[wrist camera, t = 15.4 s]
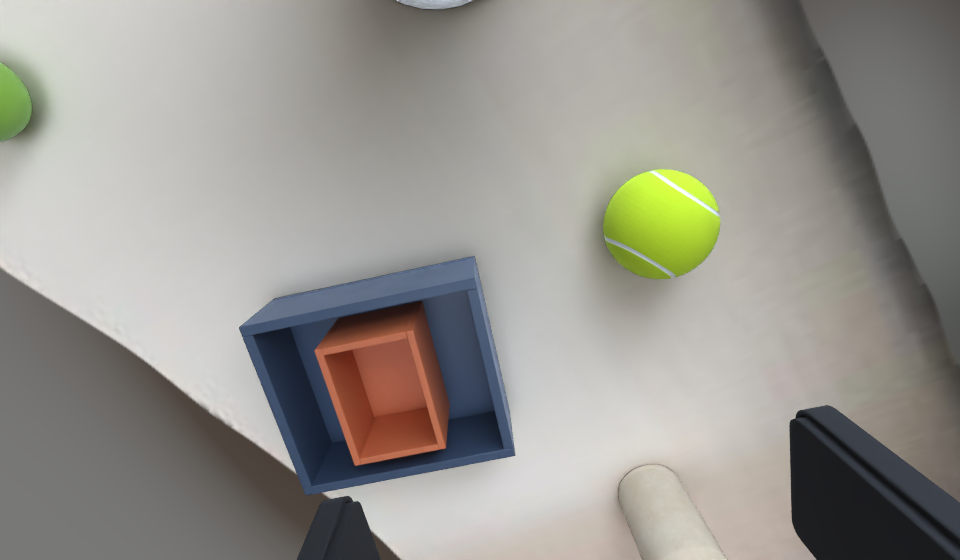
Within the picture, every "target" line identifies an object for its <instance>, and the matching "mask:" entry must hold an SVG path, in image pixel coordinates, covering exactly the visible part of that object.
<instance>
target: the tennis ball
mask: <svg viewBox="0 0 960 560" xmlns="http://www.w3.org/2000/svg"><path fill="white" fill-rule="evenodd" d="M719 230H720V216H719V208H718V205H717V203H716V201H715V199H714V197H713V195H712V194H711V192H710V191H709V190H708V189H707V188H706V186H704V185H703V184H702V183H701V182H700V181H698V180H697V179H695V178H694V177H692V176H690V175H688V174H685V173H683V172H679V171H675V170H667V169H659V170H651V171H649V172H644V173H641V174H639V175H637V176H635V177H633V178H632V179H630V180H629V181H627V182H626V183H625V184H623V185H622V186H621V187H620V188H619V189H618V190H617V192H616V193H615V194H614V196H613V197H612V199H611V200H610V202H609V204H608V206H607V209H606V212H605V216H604V222H603V233H604V239H605V242H606V245H607V247H608V249H609V251H610V252H611V254H612V256H613V257H614V258H615V259H616V261H617V262H618V263H619V264H620V265H622V266H623V267H624V268H626V269H627V270H629V271H630V272H632V273H634V274H636V275H639V276H642V277H646V278H650V279H670V278H671V277H678V276H681V275H683V274H685V273H688V272H689V271H691V270H693V269H694V268H696V267H697V266H698V265H699V264H701V263H702V262H703V261H704V260H705V259H706V257H707V256H708V255H709V254H710V252H711V251H712V249H713V247H714V245H715V243H716V241H717V238H718V235H719Z"/></svg>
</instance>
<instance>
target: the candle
mask: <svg viewBox="0 0 960 560" xmlns="http://www.w3.org/2000/svg"><path fill="white" fill-rule="evenodd" d="M618 497H619V502H620V504H621V507H622V510H623V512H624V515H625V518H626V520H627V523H628V525H629V528H630V530H631V533H632V535H633V538H634V540H635V543H636V545H637V548H638V550H639V553H640V555H641V558H642V560H728V559H727V557H726V556H725V554H724V552H723V551H722V549H721V547H720V546H719V544H718V542H717V541H716V539H715V537H714V536H713V534H712V532H711V531H710V529H709V527H708V526H707V524H706V522H705V521H704V519H703V517H702V516H701V514H700V512H699V511H698V509H697V507H696V506H695V504H694V502H693V501H692V499H691V497H690V496H689V494H688V492H687V491H686V489H685V487H684V485H683V484H682V482H681V481H680V479H679V478H678V476H677V475H676V474H675V473H674V472H673V471H672V470H670V469H669V468H667V467H664V466H661V465H654V464H651V465H644V466H640V467H638V468H635V469H634V470H632V471H631V472H629V473H628V474H627V475H626V476H625V477H624V478H623V480H622V481H621V483H620V485H619V489H618Z"/></svg>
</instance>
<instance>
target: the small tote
mask: <svg viewBox="0 0 960 560" xmlns="http://www.w3.org/2000/svg"><path fill="white" fill-rule="evenodd" d="M315 354H316V357H317V360H318V362H319V365H320V368H321V371H322V374H323V377H324V379H325V382H326V385H327V388H328V391H329V394H330V397H331V399H332V402H333V405H334V408H335V411H336V414H337V416H338V419H339V422H340V425H341V428H342V431H343V433H344V436H345V439H346V442H347V445H348V448H349V451H350V453H351V456H352V459H353V462H354V465H355V466H357V465H361V464H367V463H373V462H378V461H383V460H388V459H393V458H399V457H404V456H409V455H414V454H419V453H425V452H430V451H435V450H439V449H445V448H446V442H447V431H448V420H449V408H450V403H449V400H448V396H447V392H446V388H445V385H444V381H443V377H442V373H441V370H440V366H439V362H438V358H437V355H436V351H435V347H434V344H433V340H432V336H431V332H430V329H429V325H428V321H427V317H426V314H425V310H424V306H423V302H422V301H420V302H415V303H410V304H405V305H401V306H396V307H391V308H386V309H382V310H377V311H372V312H367V313H362V314H358V315H353V316H348V317H343V318H338V319H337V321H336V322H335V323H334V325H333V326H332V327H331V329H330V330H329V332H328V333H327V334H326V336H325V337H324V338H323V340H322V341H321V342H320V344H319V345H318V346H317V348H316V349H315Z"/></svg>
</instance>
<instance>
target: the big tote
mask: <svg viewBox="0 0 960 560" xmlns="http://www.w3.org/2000/svg"><path fill="white" fill-rule="evenodd" d="M420 301H422V302H423V306H424V310H425V314H426V317H427V321H428V325H429V329H430V332H431V336H432V340H433V344H434V347H435V351H436V355H437V358H438V362H439V366H440V370H441V373H442V377H443V381H444V385H445V388H446V392H447V396H448V400H449V403H450V408H449V420H448V431H447V442H446V448H445V449H439V450H435V451H430V452H425V453H419V454H414V455H409V456H404V457H399V458H393V459H388V460H383V461H378V462H373V463H367V464H361V465H357V466H355V465H354V462H353V459H352V456H351V453H350V451H349V448H348V445H347V442H346V439H345V436H344V433H343V431H342V428H341V425H340V422H339V419H338V416H337V414H336V411H335V408H334V405H333V402H332V399H331V397H330V394H329V391H328V388H327V385H326V382H325V379H324V377H323V374H322V371H321V368H320V365H319V362H318V360H317V357H316V354H315V349H316V348H317V346H318V345H319V344H320V342H321V341H322V340H323V338H324V337H325V336H326V334H327V333H328V332H329V330H330V329H331V327H332V326H333V325H334V323H335V322H336V321H337V319H338V318H343V317H348V316H353V315H358V314H362V313H367V312H372V311H377V310H382V309H386V308H391V307H396V306H401V305H405V304H410V303H415V302H420ZM239 329H240V332H241V334H242V337H243V339H244V342H245V344H246V347H247V349H248V352H249V354H250V357H251V359H252V362H253V364H254V367H255V370H256V372H257V375H258V377H259V380H260V382H261V385H262V387H263V390H264V392H265V395H266V397H267V400H268V402H269V405H270V407H271V410H272V412H273V415H274V417H275V420H276V422H277V425H278V427H279V430H280V432H281V435H282V437H283V440H284V442H285V445H286V448H287V450H288V453H289V455H290V458H291V460H292V463H293V465H294V468H295V470H296V473H297V475H298V478H299V480H300V483H301V485H302V487H303V490H304V493H305V495H311V494H316V493H322V492H327V491H332V490H338V489H343V488H348V487H353V486H359V485H364V484H369V483H374V482H380V481H385V480H390V479H395V478H401V477H406V476H411V475H417V474H422V473H427V472H432V471H438V470H443V469H448V468H453V467H459V466H464V465H469V464H474V463H480V462H485V461H490V460H495V459H501V458H506V457H511V456H515V449H514V441H513V433H512V426H511V418H510V411H509V406H508V402H507V397H506V393H505V388H504V384H503V380H502V375H501V371H500V366H499V362H498V357H497V353H496V349H495V344H494V340H493V335H492V331H491V326H490V322H489V318H488V313H487V309H486V304H485V300H484V295H483V291H482V287H481V282H480V278H479V273H478V269H477V264H476V260H475V257H474V256H472V257H467V258H463V259H458V260H453V261H449V262H444V263H439V264H435V265H430V266H425V267H420V268H416V269H411V270H406V271H402V272H397V273H392V274H388V275H383V276H378V277H373V278H369V279H364V280H359V281H355V282H350V283H345V284H340V285H336V286H331V287H326V288H322V289H317V290H312V291H308V292H303V293H298V294H293V295H289V296H284V297H279V298H275V299H273V300H272V301H271V302H270V303H268V304H267V305H266V306H265V307H263V308H262V309H261V310H260V311H259V312H257V313H256V314H255V315H254V316H252V317H251V318H250V319H249V320H248V321H246V322H245V323H244V324H243V325H241V326H240V327H239Z"/></svg>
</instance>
